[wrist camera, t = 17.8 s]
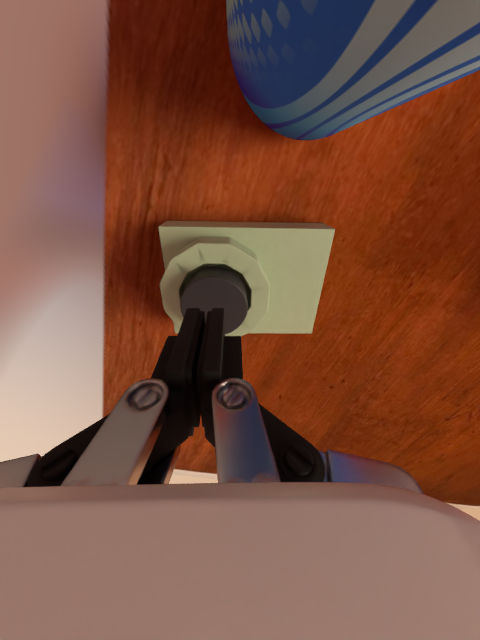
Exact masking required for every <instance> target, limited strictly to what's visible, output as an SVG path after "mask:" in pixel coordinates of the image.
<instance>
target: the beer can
mask: <svg viewBox="0 0 480 640" xmlns="http://www.w3.org/2000/svg"><path fill="white" fill-rule="evenodd" d="M226 10H227V31H228V42H229V50H230V55H231V61H232V65H233V69H234V72H235V75H236V78H237V81H238V84H239V86H240V89H241V91H242V93H243V95H244V97H245V99H246V101H247V103H248V104H249V106H250V107H251V109H252V110H253V111H254V113H255V114H256V115H257V116H258V118H259V119H260V120H261V121H262V122H263V123H264V124H266V125H267V126H268V127H269V128H270V129H272V130H274V131H275V132H277V133H279V134H281V135H283V136H285V137H288V138H292V139H297V140H315V139H321V138H324V137H328V136H330V135H333V134H335V133H337V132H340V131H342V130H344V129H346V128H349V127H351V126H353V125H355V124H358V123H360V122H362V121H365V120H367V119H369V118H371V117H374V116H376V115H378V114H380V113H383V112H385V111H387V110H390V109H392V108H394V107H396V106H399V105H401V104H403V103H406V102H408V101H410V100H412V99H415V98H417V97H419V96H421V95H424V94H426V93H428V92H431V91H433V90H435V89H437V88H440V87H442V86H444V85H446V84H449V83H451V82H453V81H456V80H458V79H460V78H462V77H465V76H467V75H469V74H472V73H474V72H476V71H478V70H480V0H226Z"/></svg>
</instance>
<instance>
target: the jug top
mask: <svg viewBox="0 0 480 640" xmlns="http://www.w3.org/2000/svg"><path fill="white" fill-rule="evenodd" d="M158 229H159V235H160V241H161V248H162V254H163V260H164V266H165V273H164V275H163V277H162V279H161V282H160V291H161V296H162V302H163V307H164V310H165V312H166V313H167V315H168V316H169V317H170V318H171V319H172V320H173V323H174V329H175V333H179V330H180V327H181V324H182V321H183V316H182V313H181V309H180V300H181V296H182V294H183V291H184V289H185V287H186V285H187V282H188V281H189V279H190V278H191V277H192V275H194V274H195V273H196V272H197V271H199V270H201V269H204V268H207V267H221V268H225V269H228V270H230V271H232V272H233V273H235V274H236V275H237V276H238V277H239V278H240V279H241V280H242V282H243V284H244V286H245V289H246V294H247V303H248V311H247V315H246V318H245V320H244V322H243V323H242V324H241V325H240V326H239V327H238V328H237V329H236V330H234V331H233V332H231V333H228V334H225V336H243V335H245V334H247V333H312V330H313V325H314V321H315V316H316V312H317V307H318V303H319V298H320V294H321V289H322V285H323V281H324V276H325V272H326V267H327V263H328V258H329V254H330V249H331V245H332V240H333V236H334V232H335V229H334V228H332V227H330V226H328V225H326V224H324V223H279V222H216V221H166V222H164V223H163V224H161V225H160V226H158Z"/></svg>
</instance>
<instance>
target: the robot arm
mask: <svg viewBox="0 0 480 640" xmlns="http://www.w3.org/2000/svg"><path fill="white" fill-rule="evenodd" d="M200 416H201V417H202V425H203V427H204V428H205V437H206V439H207V440H208V441H209V442H210V443H211V444H212V445H213V446H214V447H215V452H216V464H217V476H218V483H204V484H203V483H201V484H169V481H170V478H171V476H172V473H173V470H174V467H175V464H176V461H177V458H178V455H179V452H180V447H181V445H180V444H182V443H183V442H184V441H185V440H186V439H187V438H188V436H193V431H194V427H199V423H200ZM0 640H480V521H479V520H477V519H475V518H474V517H472V516H470V515H468V514H466V513H465V512H463V511H461V510H459V509H457V508H455V507H453V506H451V505H449V504H446V503H444V502H442V501H440V500H437V499H435V498H432V497H429V496H426V495H424V494H423V492H422V490H421V488H420V486H419V485H418V483H417V482H416V480H415V479H414V478H413V477H412V476H411V475H410V474H409V473H408V472H406V471H405V470H403V469H402V468H401V467H399V466H396V465H394V464H391V463H387V462H382V461H378V460H373V459H369V458H364V457H360V456H355V455H351V454H346V453H342V452H337V451H332V450H327V452H323V451H318V450H317V449H316V448H315V447H314V446H313V445H312V444H311V443H309V442H308V441H307V440H305V439H304V438H303V437H301V436H300V435H299V434H298V433H296V432H295V431H294V430H292V429H291V428H290V427H288V426H287V425H286V424H285V423H283V422H282V421H281V420H279V419H278V418H277V417H275V416H274V415H273V414H272V413H270V412H269V411H268V410H266V409H265V408H264V407H262V406H261V405H260V404H259V403H258V400H257V396H256V393H255V390H254V388H253V386H252V385H251V384H249V383H248V382H247V381H245V380H243V371H242V350H241V336H225V310H224V308H212V311H208V312H207V317H206V323H205V312H204V311H200V308H187V309H186V312H185V315H184V318H183V321H182V324H181V327H180V330H179V333H178V335H177V336H168V338H167V340H166V342H165V345H164V347H163V350H162V352H161V354H160V357H159V359H158V362H157V364H156V367H155V369H154V372H153V374H152V377H151V379H145V380H141V381H139V382H137V383H135V384H133V385H132V386H130V387H129V388H128V389H127V390H126V391H125V393H124V394H123V396H122V397H121V398H120V400H119V401H118V403H117V404H116V406H115V407H114V409H113V410H112V412H111V413H110V414H109V415H107V416H106V417H104V418H102V419H101V420H99V421H97V422H96V423H94V424H93V425H91V426H89V427H88V428H86V429H84V430H83V431H81V432H79V433H78V434H76V435H74V436H73V437H71V438H69V439H68V440H66V441H65V442H63V443H61V444H60V445H58V446H56V447H55V448H53V449H52V450H51V451H49V452H48V453H46V454H45V455H44V456H42V457H41V456H40V455H39V454H35V455H30V456H26V457H21V458H17V459H12V460H8V461H4V462H0Z"/></svg>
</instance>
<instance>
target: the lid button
mask: <svg viewBox="0 0 480 640" xmlns="http://www.w3.org/2000/svg"><path fill="white" fill-rule="evenodd" d="M187 308H200V311H204V312H205V323H206V317H207V312H208V311H212V308H224V310H225V334H228V333H231V332H233V331H234V330H236V329H237V328H238V327H239V326H240V325H241V324H242V323H243V322H244V320H245V318H246V315H247V311H248V303H247V294H246V289H245V286H244V284H243V282H242V280H241V279H240V278H239V277H238V276H237V275H236V274H235V273H233V272H232V271H230V270H228V269H225V268H221V267H207V268H204V269H201V270H199V271H197V272H196V273H195V274H194V275H192V277H191V278H190V279H189V281H188V282H187V285H186V287H185V289H184V291H183V294H182V296H181V300H180V309H181V313H182V316H183V318H184V315H185V312H186V309H187Z"/></svg>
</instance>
